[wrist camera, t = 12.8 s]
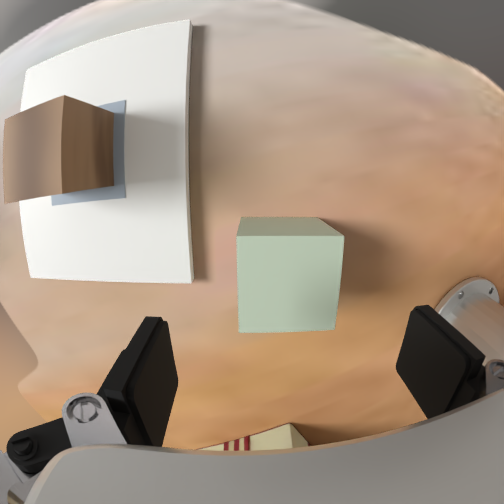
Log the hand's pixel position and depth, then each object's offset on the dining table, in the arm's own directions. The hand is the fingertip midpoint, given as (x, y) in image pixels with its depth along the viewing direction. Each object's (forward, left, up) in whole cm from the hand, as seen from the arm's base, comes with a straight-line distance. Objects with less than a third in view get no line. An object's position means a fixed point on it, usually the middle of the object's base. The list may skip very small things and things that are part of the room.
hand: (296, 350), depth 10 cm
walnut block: (+15, -9, -12) cm, 22 cm away
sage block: (-1, 0, -14) cm, 14 cm away
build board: (+15, -9, -14) cm, 22 cm away
